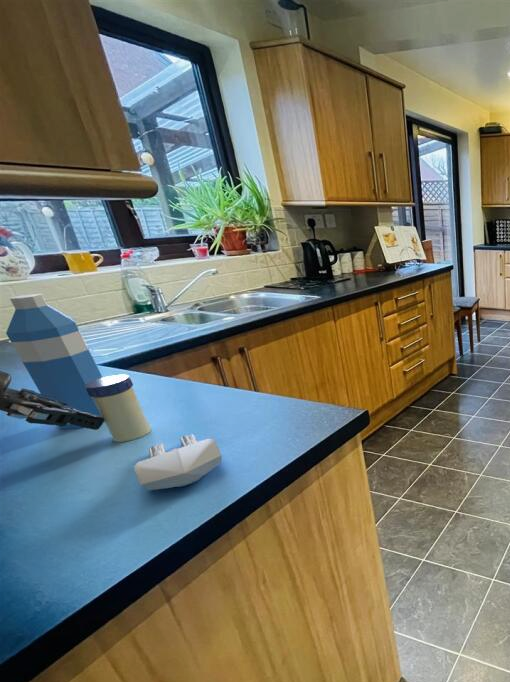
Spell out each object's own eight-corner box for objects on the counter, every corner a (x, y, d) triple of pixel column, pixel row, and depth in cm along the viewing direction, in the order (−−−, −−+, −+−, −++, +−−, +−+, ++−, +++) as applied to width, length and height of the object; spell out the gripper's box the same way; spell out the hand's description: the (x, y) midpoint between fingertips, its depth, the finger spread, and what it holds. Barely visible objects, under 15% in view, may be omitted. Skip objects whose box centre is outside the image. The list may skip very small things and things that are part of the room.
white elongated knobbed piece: (211, 444, 75) (201, 421, 73) (232, 474, 61) (221, 446, 59) (141, 468, 68) (129, 443, 67) (147, 508, 54) (132, 477, 53)
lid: (81, 399, 68) (76, 390, 67) (99, 387, 73) (94, 377, 72) (124, 393, 70) (119, 384, 69) (138, 381, 75) (134, 372, 74)
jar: (107, 444, 72) (80, 392, 68) (121, 430, 77) (96, 380, 72) (144, 438, 74) (120, 386, 69) (156, 424, 78) (133, 375, 74)
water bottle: (74, 432, 76) (2, 303, 66) (47, 425, 80) (-26, 300, 69) (131, 410, 84) (74, 292, 74) (104, 405, 87) (46, 290, 77)
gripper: (-32, 370, 55) (123, 414, 68) (-35, 353, 62) (105, 396, 76) (-73, 419, 53) (95, 454, 67) (-71, 397, 60) (79, 432, 74)
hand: (100, 423), depth 71 cm, fingers closed
